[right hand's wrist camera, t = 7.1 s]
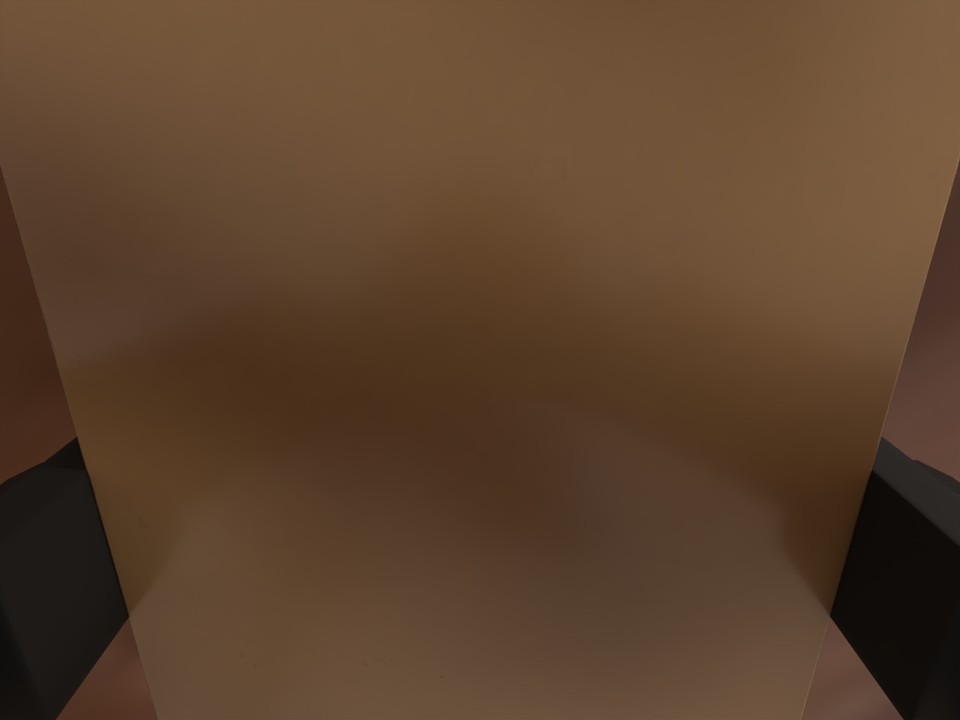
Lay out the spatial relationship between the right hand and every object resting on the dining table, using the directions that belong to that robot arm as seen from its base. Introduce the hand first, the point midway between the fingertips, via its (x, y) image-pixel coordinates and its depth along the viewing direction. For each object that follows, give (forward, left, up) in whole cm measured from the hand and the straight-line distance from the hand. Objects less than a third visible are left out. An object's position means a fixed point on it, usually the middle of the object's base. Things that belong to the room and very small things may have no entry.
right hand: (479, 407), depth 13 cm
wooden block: (+3, 0, -6) cm, 6 cm away
